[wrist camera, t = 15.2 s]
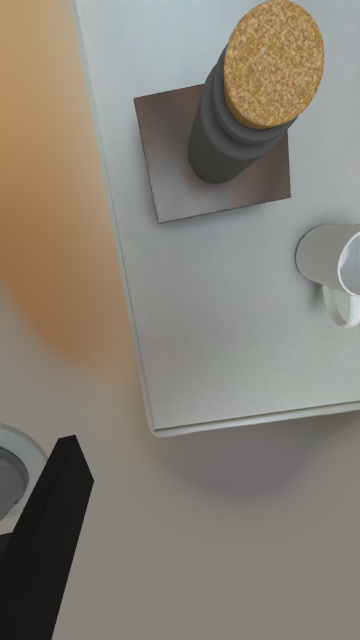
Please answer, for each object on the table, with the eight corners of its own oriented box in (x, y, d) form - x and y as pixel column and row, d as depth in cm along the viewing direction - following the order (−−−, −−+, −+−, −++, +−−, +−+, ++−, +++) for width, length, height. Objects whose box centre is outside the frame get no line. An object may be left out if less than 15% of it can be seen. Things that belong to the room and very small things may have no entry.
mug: (298, 224, 38) (346, 223, 28) (354, 225, 39) (419, 224, 29) (286, 308, 42) (324, 334, 32) (337, 308, 42) (389, 333, 33)
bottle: (214, 197, 28) (265, 166, 14) (174, 149, 27) (185, 60, 12) (258, 152, 27) (362, 69, 13) (219, 99, 26) (287, -60, 11)
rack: (159, 224, 37) (158, 223, 29) (141, 130, 34) (133, 97, 25) (261, 204, 37) (290, 197, 29) (254, 107, 34) (284, 67, 25)
